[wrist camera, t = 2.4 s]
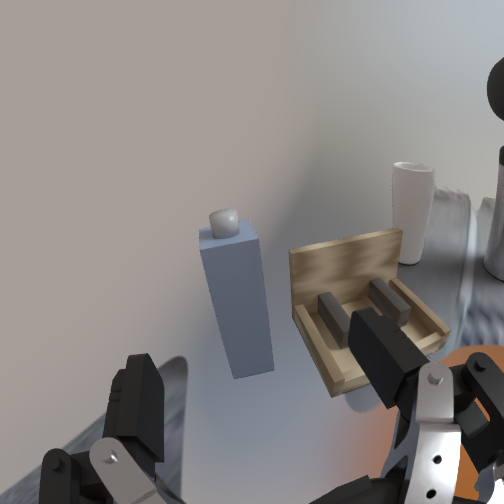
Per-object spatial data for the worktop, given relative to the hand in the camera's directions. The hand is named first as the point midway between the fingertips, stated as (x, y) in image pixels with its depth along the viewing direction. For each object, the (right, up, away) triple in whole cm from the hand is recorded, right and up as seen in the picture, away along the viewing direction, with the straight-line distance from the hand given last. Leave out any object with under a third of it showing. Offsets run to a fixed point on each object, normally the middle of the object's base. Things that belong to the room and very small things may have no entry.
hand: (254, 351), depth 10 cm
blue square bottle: (0, -7, +16) cm, 18 cm away
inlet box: (+13, -5, +17) cm, 22 cm away
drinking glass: (+25, +3, +29) cm, 39 cm away
